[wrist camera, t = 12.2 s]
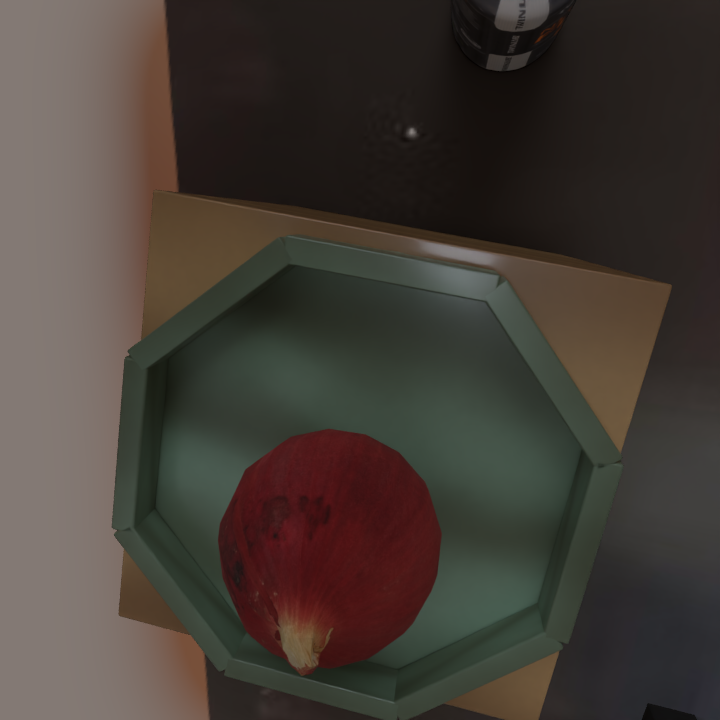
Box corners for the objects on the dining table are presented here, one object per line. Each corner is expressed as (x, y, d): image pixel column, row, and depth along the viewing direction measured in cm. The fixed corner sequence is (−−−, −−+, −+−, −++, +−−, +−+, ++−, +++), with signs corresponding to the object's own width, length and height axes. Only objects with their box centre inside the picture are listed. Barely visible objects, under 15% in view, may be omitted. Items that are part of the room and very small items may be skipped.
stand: (297, 206, 36) (119, 185, 17) (561, 254, 34) (700, 292, 15) (263, 445, 40) (87, 651, 21) (498, 499, 38) (544, 778, 19)
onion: (243, 511, 20) (113, 688, 12) (309, 366, 19) (207, 466, 11) (394, 588, 20) (358, 818, 12) (474, 448, 18) (490, 610, 11)
